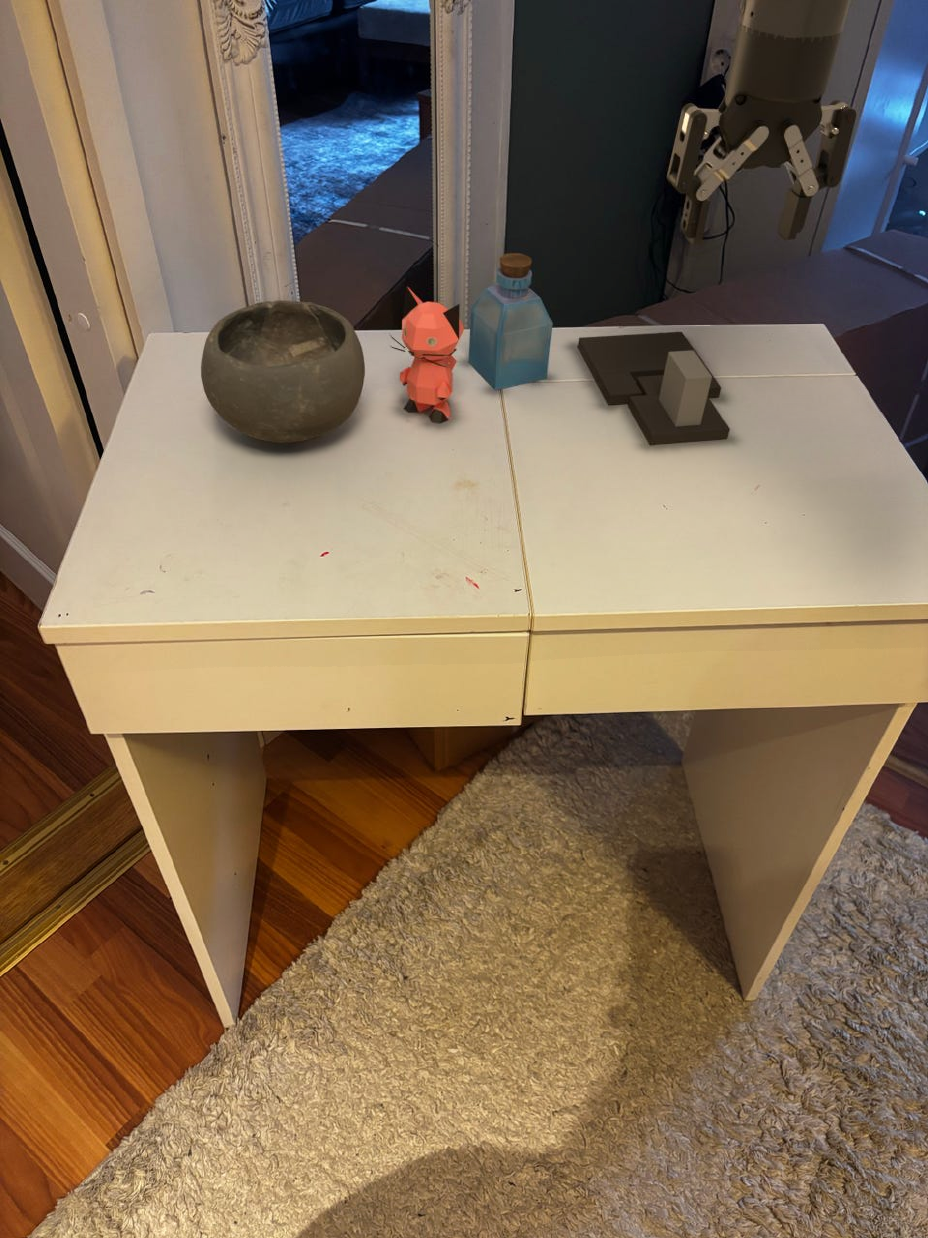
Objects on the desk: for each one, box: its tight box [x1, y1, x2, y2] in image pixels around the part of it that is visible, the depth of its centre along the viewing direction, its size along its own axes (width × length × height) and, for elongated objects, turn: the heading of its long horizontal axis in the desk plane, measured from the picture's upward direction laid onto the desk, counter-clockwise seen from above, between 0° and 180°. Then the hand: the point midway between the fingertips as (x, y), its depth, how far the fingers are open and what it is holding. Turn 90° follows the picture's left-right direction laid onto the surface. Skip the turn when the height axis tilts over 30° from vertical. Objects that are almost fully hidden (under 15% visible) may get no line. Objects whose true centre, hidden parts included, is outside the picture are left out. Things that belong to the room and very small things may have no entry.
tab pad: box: [627, 351, 731, 446], centre depth 92 cm, size 8×11×6 cm
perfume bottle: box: [468, 252, 554, 391], centre depth 95 cm, size 6×6×12 cm
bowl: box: [200, 299, 366, 444], centre depth 87 cm, size 15×15×10 cm
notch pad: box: [577, 331, 722, 406], centre depth 100 cm, size 12×12×1 cm
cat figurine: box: [388, 285, 465, 424], centre depth 89 cm, size 7×7×12 cm
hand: (739, 239), depth 80 cm, fingers open, 8 cm apart
